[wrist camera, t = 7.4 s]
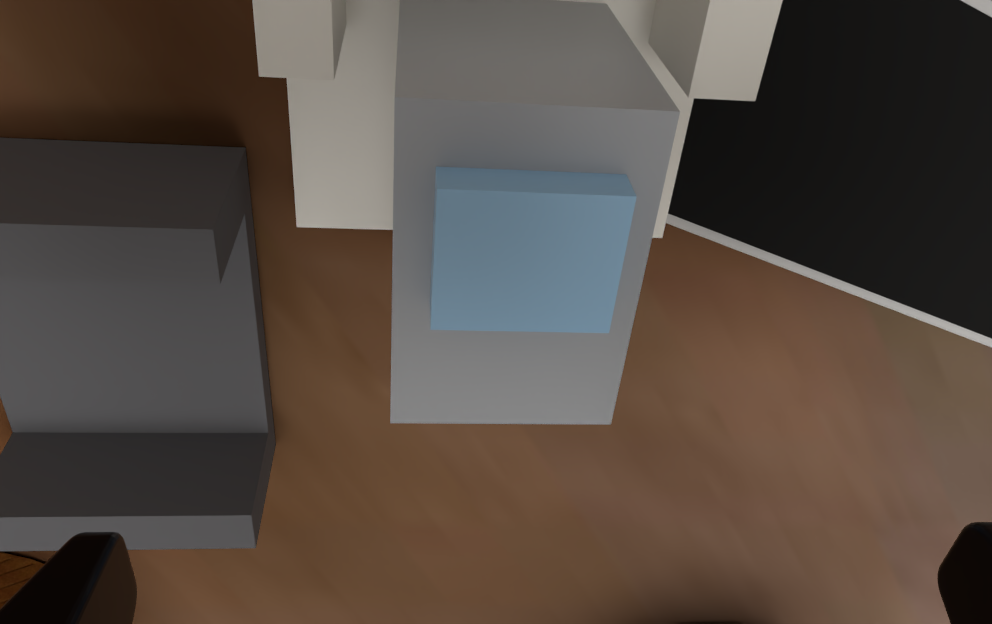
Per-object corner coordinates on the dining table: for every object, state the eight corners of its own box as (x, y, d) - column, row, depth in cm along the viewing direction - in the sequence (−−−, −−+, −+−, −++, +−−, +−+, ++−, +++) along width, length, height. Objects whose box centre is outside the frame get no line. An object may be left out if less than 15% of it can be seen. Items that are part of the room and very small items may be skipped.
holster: (275, 444, 23) (255, 547, 20) (36, 444, 23) (-21, 551, 20) (245, 147, 18) (213, 229, 15) (-67, 135, 17) (-165, 218, 14)
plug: (566, 263, 20) (618, 452, 15) (396, 259, 19) (389, 451, 14) (606, 3, 16) (693, 131, 11) (400, -11, 16) (393, 116, 11)
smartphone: (690, -167, 16) (704, -161, 15) (1217, 127, 20) (1249, 143, 19) (528, 156, 19) (532, 174, 18) (1006, 342, 24) (1026, 363, 23)
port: (654, 221, 20) (697, 312, 17) (300, 209, 19) (278, 304, 16) (764, -288, 14) (862, -290, 11) (265, -340, 13) (221, -358, 10)
